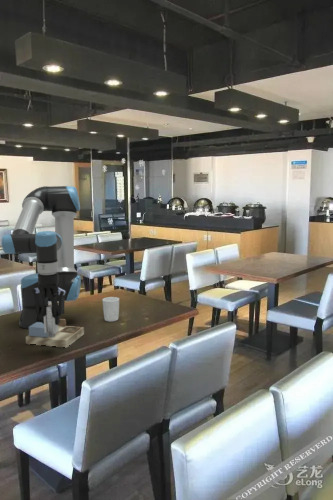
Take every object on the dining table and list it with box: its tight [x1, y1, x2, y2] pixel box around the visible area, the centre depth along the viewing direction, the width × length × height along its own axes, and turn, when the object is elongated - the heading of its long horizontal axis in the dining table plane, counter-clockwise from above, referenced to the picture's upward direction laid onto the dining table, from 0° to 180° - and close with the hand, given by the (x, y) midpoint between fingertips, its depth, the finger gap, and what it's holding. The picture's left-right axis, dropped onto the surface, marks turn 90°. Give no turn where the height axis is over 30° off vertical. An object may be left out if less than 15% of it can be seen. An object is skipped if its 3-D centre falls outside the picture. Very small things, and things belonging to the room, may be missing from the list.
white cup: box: [102, 296, 120, 322], centre depth 195 cm, size 8×8×10 cm
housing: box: [28, 322, 48, 337], centre depth 167 cm, size 8×6×4 cm
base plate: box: [25, 318, 85, 349], centre depth 171 cm, size 18×16×6 cm
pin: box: [46, 304, 56, 337], centre depth 157 cm, size 3×3×12 cm
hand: (51, 331), depth 158 cm, fingers closed on pin, 3 cm apart
